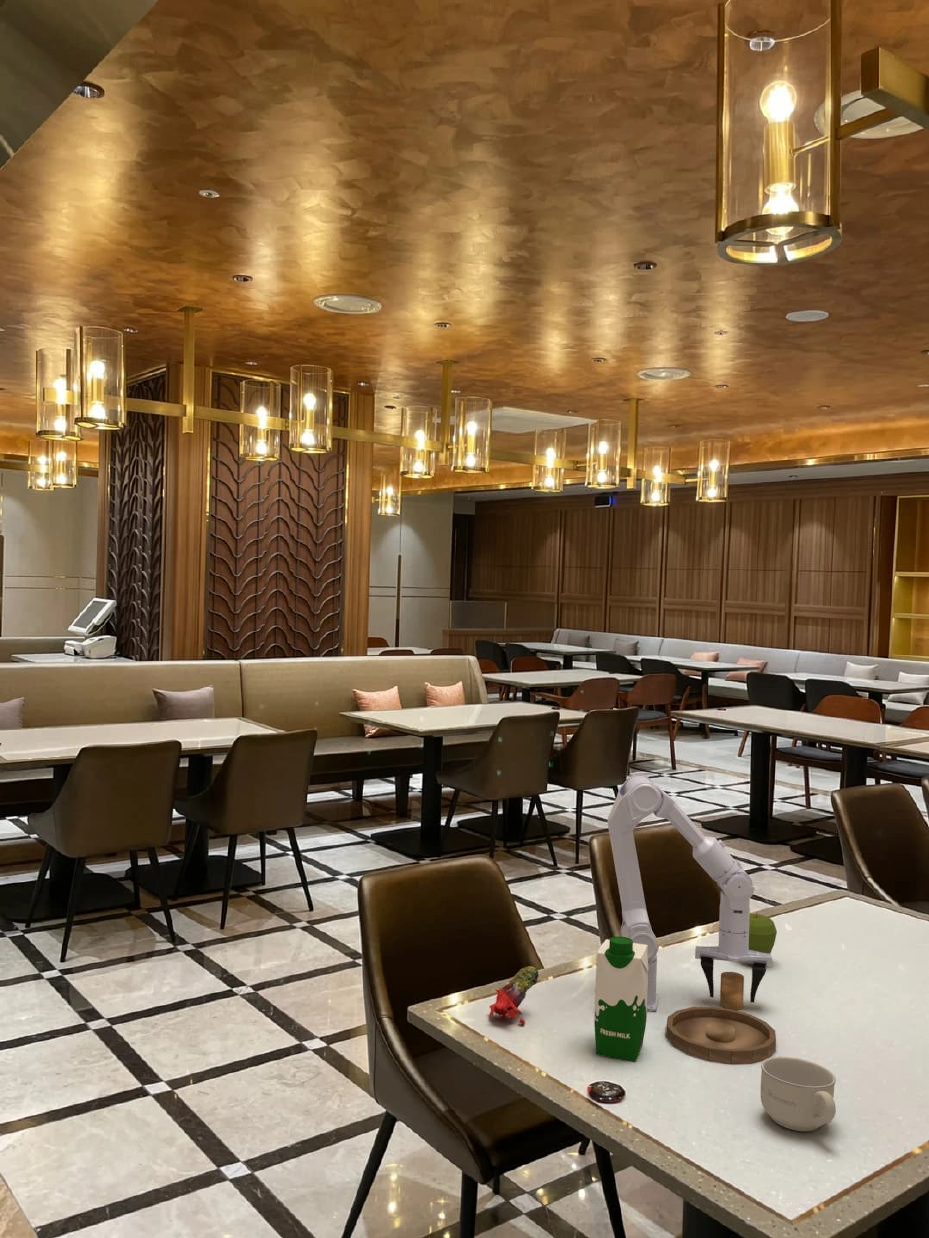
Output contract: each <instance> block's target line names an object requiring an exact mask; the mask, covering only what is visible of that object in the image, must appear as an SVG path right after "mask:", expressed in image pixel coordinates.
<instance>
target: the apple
mask: <svg viewBox="0 0 929 1238" xmlns="http://www.w3.org/2000/svg"><path fill="white" fill-rule="evenodd" d="M777 933H778V932H777V928H776V925H775V922H774V920H773V919H771V918H770V917H769V916H767V915H764V914H758V913H757V912H756V913H750V920H749V950H752V951H757V952H761V953H767V954H772V950H773V948H774V946H775V943H776V938H777ZM747 964H748V965H749V966H751V967H752V964H750V963H747Z"/></svg>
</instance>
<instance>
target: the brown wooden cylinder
mask: <svg viewBox="0 0 929 1238" xmlns="http://www.w3.org/2000/svg"><path fill="white" fill-rule="evenodd" d="M719 988H720V990H719V1006H720V1008H726V1009H732V1010H736V1011H741V1010H744V1009H743V1008H744V995H745V994H744V992H745V991H744V989H745V976H744V975H743V974H742V973H738V972H734V971H724V972H721V973H720V987H719Z"/></svg>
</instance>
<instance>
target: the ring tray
mask: <svg viewBox="0 0 929 1238" xmlns="http://www.w3.org/2000/svg"><path fill="white" fill-rule="evenodd" d="M665 1025H666V1029H665V1031H666V1033H665V1035H666V1036H665V1037H666V1039H667V1040H668V1042H670V1044H671V1045H672V1047H674V1048H675V1049H678V1050H679V1051H681V1052H683V1053H685V1054H686V1055H688V1056H692V1057H694V1058H698V1059H701V1060H705V1061H707V1062H714V1063H721V1064H729V1065H741V1064H742V1065H744V1064H748V1065H749V1064H755V1063H758V1062H763V1061H764V1060H765V1059H768V1058H771V1057H772V1056H773V1055H774V1054H775V1053H776V1051H777V1049H776V1047H777V1036H776V1035H777V1034H776V1030H775V1029H774V1028H773V1027H772V1026H771V1025H770V1024H768V1022H767V1021H764V1020H763V1019H761V1018H759V1017H756V1016H755V1015H752V1014H749V1013H747V1012H743V1011H741V1010H738V1011H736V1010H732V1009H726V1008H722V1007H716V1006H691V1007H686V1008H681V1009H678V1010H675V1011H674V1012H672V1013H671V1014H669V1015H668V1016H667V1019H666V1024H665Z"/></svg>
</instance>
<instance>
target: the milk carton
mask: <svg viewBox="0 0 929 1238" xmlns="http://www.w3.org/2000/svg"><path fill="white" fill-rule="evenodd" d="M647 950H648V945H644V944H637V943H633V940H632V939H630V938H627V937H621V936H613V937H610V938H609V939H608V938H607V939H605V940H604V941H603V942H601V946H600V947H599V949H598V950H597V952H596V965H595V966H596V967H595V988H594V1019H593V1020H594V1021H593V1022H594V1024H593V1025H594V1039H595V1040H594V1041H595V1042H594V1044H595V1045H594V1046H595V1055H596V1056H600V1057H601V1056H603V1057H608V1058H613V1059H620V1060H624V1061H625V1060H626V1061H631V1062H637V1060H638V1058H639V1055H640V1052H641V1051H642V1050H641V1049H642V1047H643V1044H644V1038H645V1034H646V1028H647V1027H646V1026H647V1018H648V1017H647V1015H648V1010H647V991H648V970H649V966H648V957H647Z"/></svg>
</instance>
